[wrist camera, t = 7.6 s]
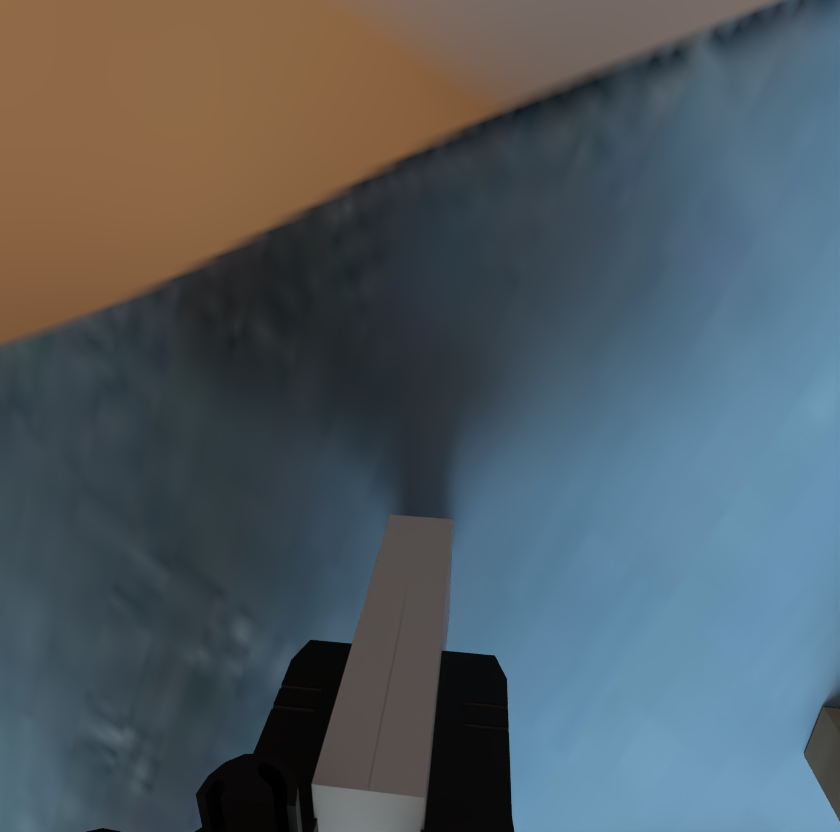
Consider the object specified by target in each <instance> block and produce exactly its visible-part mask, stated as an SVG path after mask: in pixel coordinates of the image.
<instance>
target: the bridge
mask: <svg viewBox="0 0 840 832" xmlns="http://www.w3.org/2000/svg"><path fill="white" fill-rule="evenodd" d="M804 756H805V758H806V760H807V762H808V764H809V766H810V767H811V769H812V771H813V773H814V775H815V777H816V778H817V780H818V782H819V784H820V786H821V788H822V789H823V791H824V793H825V795H826V797H827V799H828V801H829V802H830V804H831V806H832V808H833V810H834V812H835V813H836V815H837V817H838V819H839V821H840V708H829V707H823V708H822V710H821V713H820V715H819V718H818V721H817V723H816V726H815V728H814V731H813V733H812V736H811V738H810V741H809V744H808V746H807V749H806V751H805V754H804Z"/></svg>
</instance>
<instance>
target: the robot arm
mask: <svg viewBox="0 0 840 832" xmlns="http://www.w3.org/2000/svg"><path fill="white" fill-rule="evenodd" d="M452 538H453V519H443V518H429V517H415V516H402V515H390V516H389V519H388V522H387V526H386V529H385V533H384V536H383V540H382V543H381V547H380V550H379V553H378V557H377V560H376V564H375V567H374V571H373V574H372V578H371V581H370V584H369V588H368V591H367V595H366V598H365V602H364V605H363V609H362V612H361V615H360V619H359V622H358V626H357V629H356V633H355V636H354V640H353V643H352V644H349V643H339V642H328V641H318V640H310V641H309V642H308V643H307V644H306V645H305V646H304V647H303V648H302V649H301V650H300V651H299V652H298V653H297V654H296V655H295V656H294V658H293V659H292V660H291V662H290V665H289V667H288V670H287V672H286V674H285V677H284V679H283V682H282V687H281V689H279V692H278V694H277V697H276V699H275V702H274V706H273V709H271V711H270V714H269V716H268V719H267V721H266V724H265V726H264V729H263V731H262V734H261V736H260V738H259V741H258V743H257V746H256V748H255V751H254V753H253V754H244V755H241V756H239V757H237V758H234V759H232V760H229V761H227V762H225V763H224V764H222V765H221V766H220V767H219V768H218V769H216V770H215V771H214V772H213V773H211V774H210V775H209V776H208V777H207V779H206V780H205V782H204V783H203V784H202V786H201V787H200V789H199V790H198V792H197V793H196V798H197V803H198V808H199V813H200V818H201V823H202V828H200V829H198V830H197V831H195V832H514V827H513V821H512V806H511V779H510V752H509V732H508V728H509V724H508V697H507V678H506V676H505V674H504V672H503V671H502V669H501V667H500V665H499V663H498V661H497V659H496V657H495V656H494V655H483V654H473V653H462V652H452V651H446V643H447V632H448V620H449V607H450V584H451V561H452ZM87 832H120V831H115V830H110V829H104V828H101V829H96V830H92V831H87Z"/></svg>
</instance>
